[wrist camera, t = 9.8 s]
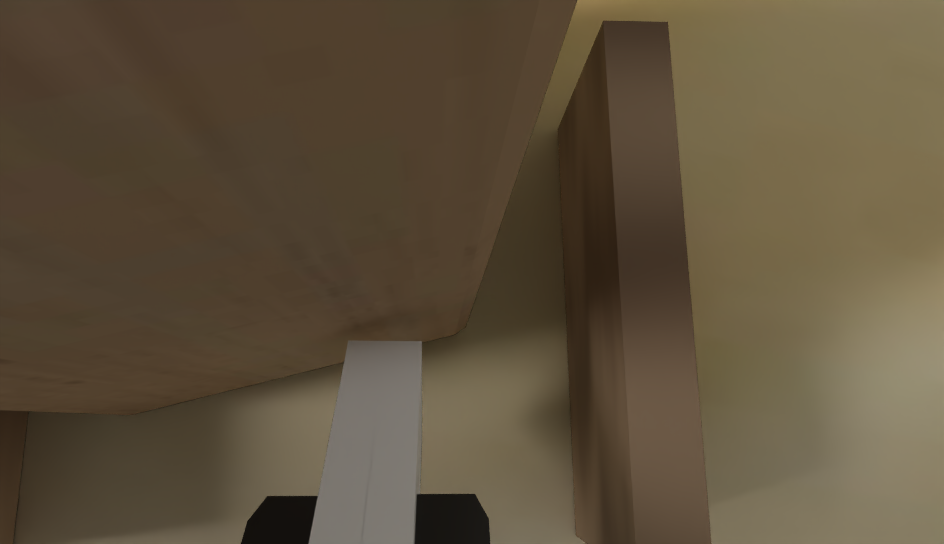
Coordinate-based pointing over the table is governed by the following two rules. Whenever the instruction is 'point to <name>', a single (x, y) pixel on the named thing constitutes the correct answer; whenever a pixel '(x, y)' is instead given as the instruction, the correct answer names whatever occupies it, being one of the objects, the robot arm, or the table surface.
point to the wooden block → (249, 184)
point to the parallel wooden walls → (603, 306)
